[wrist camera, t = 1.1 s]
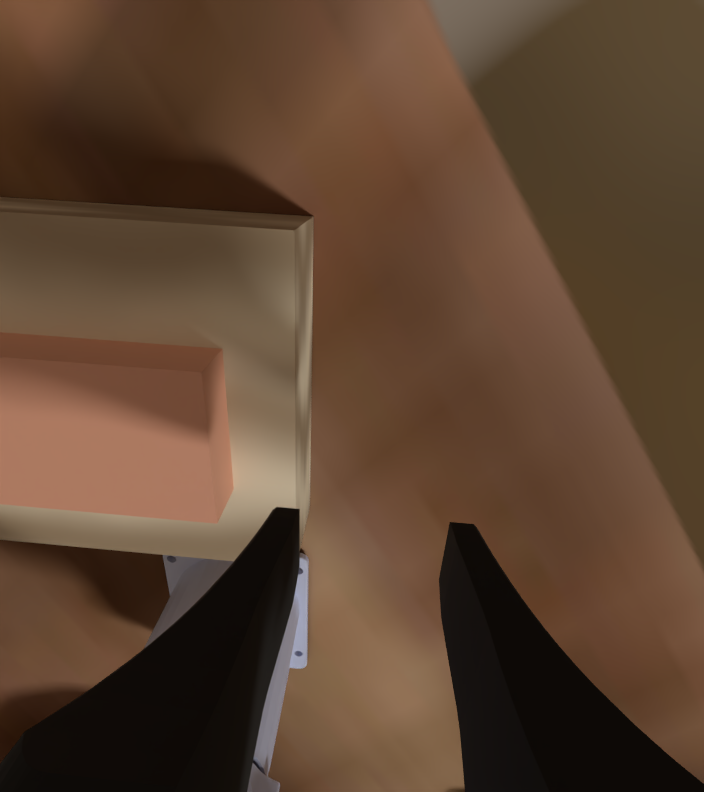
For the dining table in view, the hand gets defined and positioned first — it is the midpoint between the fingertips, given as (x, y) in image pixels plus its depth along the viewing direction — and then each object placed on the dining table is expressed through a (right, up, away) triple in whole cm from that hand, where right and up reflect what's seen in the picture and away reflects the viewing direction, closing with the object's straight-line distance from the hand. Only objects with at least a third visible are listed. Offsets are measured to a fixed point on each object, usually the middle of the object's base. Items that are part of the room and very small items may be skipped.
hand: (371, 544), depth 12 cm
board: (-9, +5, +9) cm, 14 cm away
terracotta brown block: (-10, +3, +5) cm, 11 cm away
